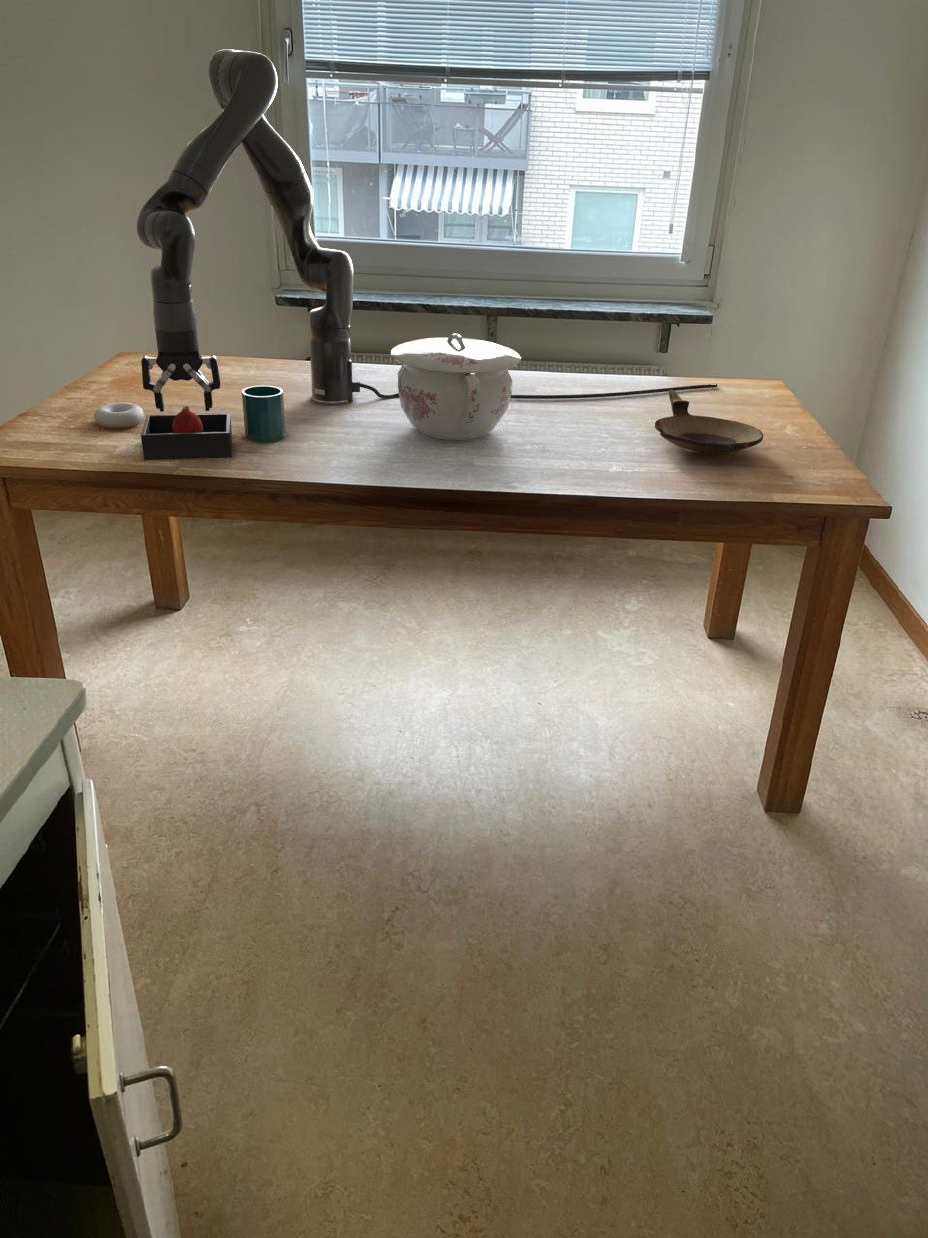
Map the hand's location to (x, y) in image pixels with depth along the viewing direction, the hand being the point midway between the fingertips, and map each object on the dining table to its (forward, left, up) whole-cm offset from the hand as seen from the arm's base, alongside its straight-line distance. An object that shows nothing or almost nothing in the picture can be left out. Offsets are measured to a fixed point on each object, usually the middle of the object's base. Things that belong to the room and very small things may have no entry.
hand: (185, 410), depth 175 cm
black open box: (0, 0, -8) cm, 8 cm away
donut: (+15, -17, -8) cm, 24 cm away
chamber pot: (-55, -6, -8) cm, 56 cm away
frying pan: (-108, +8, -8) cm, 109 cm away
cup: (-15, -6, -8) cm, 18 cm away
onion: (0, 0, -7) cm, 7 cm away
